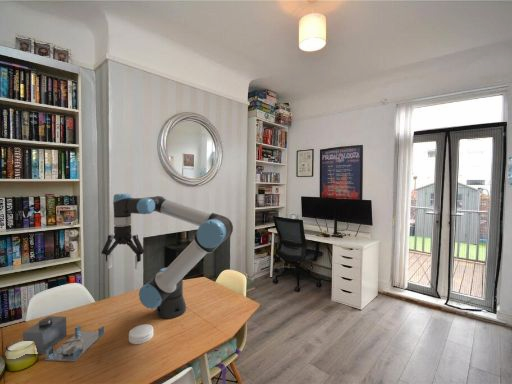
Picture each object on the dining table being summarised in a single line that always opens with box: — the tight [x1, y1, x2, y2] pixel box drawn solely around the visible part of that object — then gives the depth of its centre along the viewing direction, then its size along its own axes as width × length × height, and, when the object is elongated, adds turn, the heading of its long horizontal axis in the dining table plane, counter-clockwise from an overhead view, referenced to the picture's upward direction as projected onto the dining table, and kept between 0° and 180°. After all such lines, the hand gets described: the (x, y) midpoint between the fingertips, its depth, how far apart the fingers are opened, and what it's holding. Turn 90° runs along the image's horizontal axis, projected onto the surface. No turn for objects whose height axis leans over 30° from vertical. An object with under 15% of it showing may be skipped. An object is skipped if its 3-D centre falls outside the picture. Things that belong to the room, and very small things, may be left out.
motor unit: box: [22, 315, 106, 362], centre depth 107 cm, size 24×18×10 cm
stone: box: [61, 337, 83, 355], centre depth 104 cm, size 10×7×3 cm
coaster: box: [128, 323, 154, 345], centre depth 113 cm, size 10×10×4 cm
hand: (123, 268), depth 125 cm, fingers open, 13 cm apart
